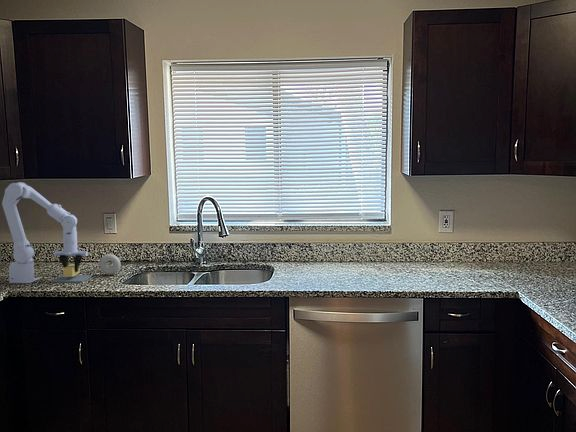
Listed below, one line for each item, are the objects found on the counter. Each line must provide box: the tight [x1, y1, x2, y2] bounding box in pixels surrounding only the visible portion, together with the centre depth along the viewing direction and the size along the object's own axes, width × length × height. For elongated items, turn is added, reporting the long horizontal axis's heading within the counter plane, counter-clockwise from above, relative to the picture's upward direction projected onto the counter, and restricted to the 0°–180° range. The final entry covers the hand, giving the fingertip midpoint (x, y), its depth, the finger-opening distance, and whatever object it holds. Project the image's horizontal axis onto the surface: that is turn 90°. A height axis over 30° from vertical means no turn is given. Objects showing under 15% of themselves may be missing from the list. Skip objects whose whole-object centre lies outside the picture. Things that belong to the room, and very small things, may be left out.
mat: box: [50, 274, 93, 284], centre depth 232 cm, size 14×12×1 cm
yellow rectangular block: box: [62, 263, 80, 277], centre depth 232 cm, size 8×4×4 cm, turn 0°
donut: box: [98, 253, 122, 276], centre depth 242 cm, size 10×4×10 cm, turn 92°
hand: (71, 271), depth 232 cm, fingers closed on yellow rectangular block, 4 cm apart
